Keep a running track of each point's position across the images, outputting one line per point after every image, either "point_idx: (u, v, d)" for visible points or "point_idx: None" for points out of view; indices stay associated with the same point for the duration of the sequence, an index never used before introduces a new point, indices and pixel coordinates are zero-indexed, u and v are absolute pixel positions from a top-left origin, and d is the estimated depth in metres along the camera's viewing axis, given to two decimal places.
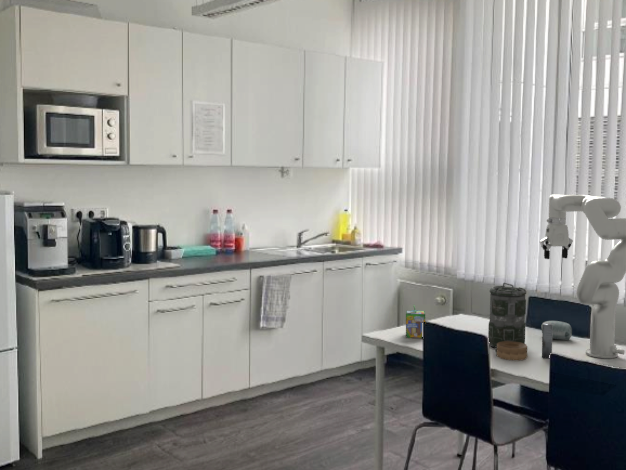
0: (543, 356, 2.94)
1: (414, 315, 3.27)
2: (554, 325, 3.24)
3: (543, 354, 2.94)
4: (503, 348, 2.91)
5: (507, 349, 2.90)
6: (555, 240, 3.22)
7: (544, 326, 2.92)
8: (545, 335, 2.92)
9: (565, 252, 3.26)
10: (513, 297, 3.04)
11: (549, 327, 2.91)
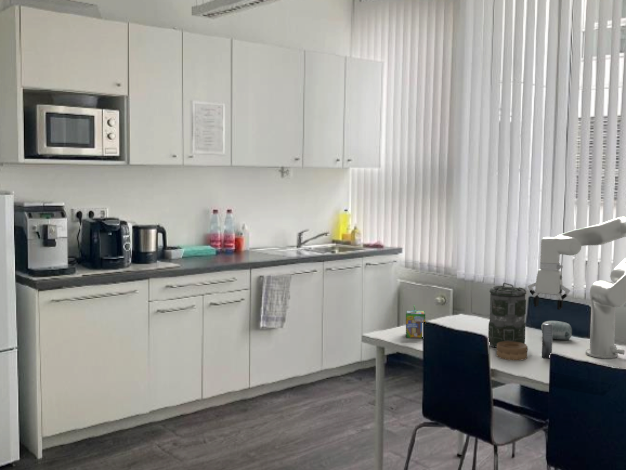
0: (543, 356, 2.94)
1: (414, 315, 3.27)
2: (554, 325, 3.24)
3: (543, 354, 2.94)
4: (503, 348, 2.91)
5: (507, 349, 2.90)
6: None
7: (544, 326, 2.92)
8: (545, 335, 2.92)
9: (538, 299, 2.96)
10: (513, 297, 3.04)
11: (549, 327, 2.91)
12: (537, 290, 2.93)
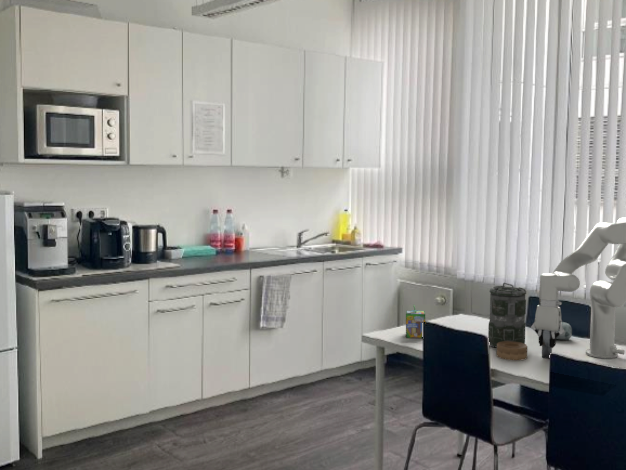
0: (543, 356, 2.94)
1: (414, 315, 3.27)
2: None
3: (543, 354, 2.94)
4: (503, 348, 2.91)
5: (507, 349, 2.90)
6: None
7: None
8: (545, 335, 2.92)
9: None
10: (513, 297, 3.04)
11: None
12: (536, 326, 2.94)
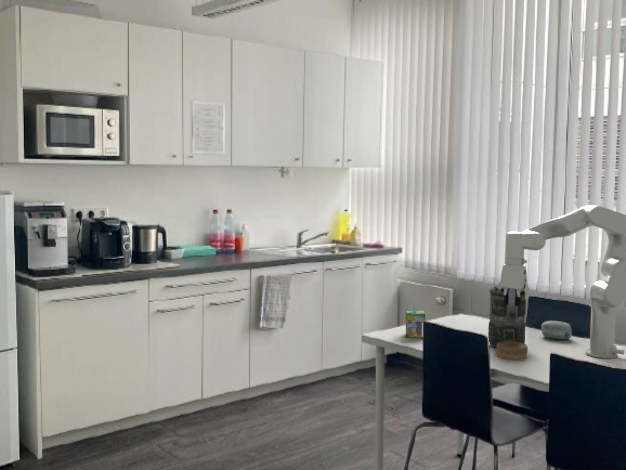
0: (508, 315, 2.93)
1: (414, 315, 3.27)
2: (554, 325, 3.24)
3: (508, 313, 2.93)
4: (503, 348, 2.91)
5: (507, 349, 2.90)
6: None
7: None
8: (510, 293, 2.92)
9: None
10: None
11: None
12: (502, 285, 2.94)
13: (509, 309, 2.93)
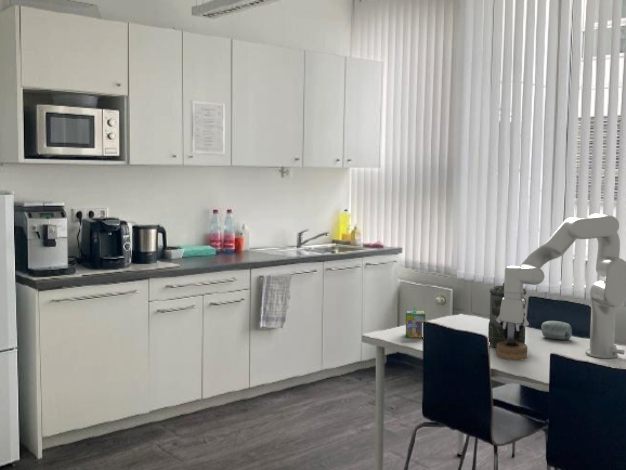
0: None
1: (414, 315, 3.27)
2: (554, 325, 3.24)
3: None
4: (503, 348, 2.91)
5: (507, 349, 2.90)
6: None
7: None
8: (509, 327, 2.93)
9: None
10: None
11: None
12: (501, 319, 2.95)
13: (508, 343, 2.94)
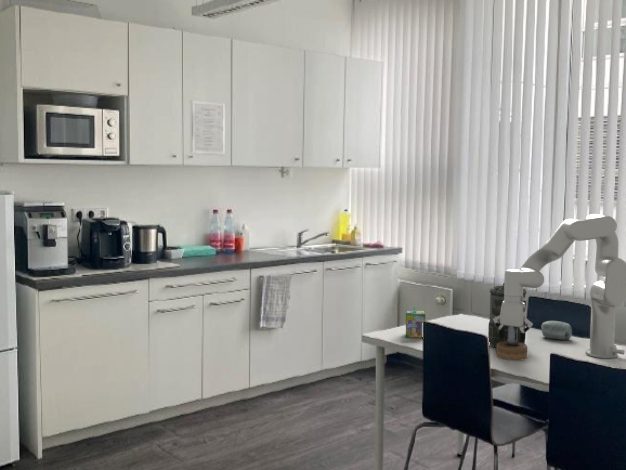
0: None
1: (414, 315, 3.27)
2: (554, 325, 3.24)
3: None
4: (503, 348, 2.91)
5: (507, 349, 2.90)
6: None
7: None
8: (509, 334, 2.93)
9: (503, 332, 2.98)
10: None
11: (514, 327, 2.92)
12: (501, 322, 2.95)
13: None
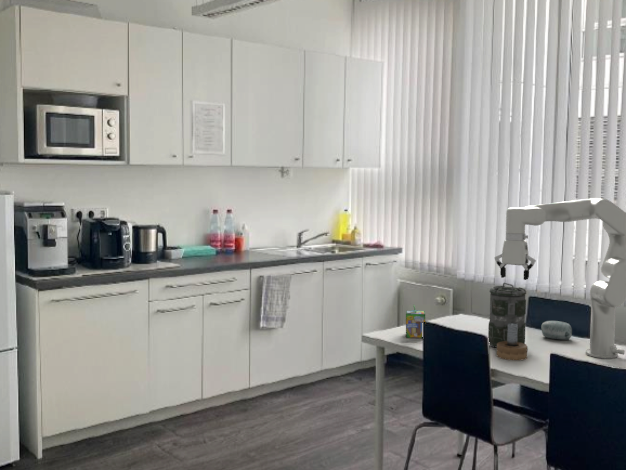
0: None
1: (414, 315, 3.27)
2: (554, 325, 3.24)
3: None
4: (503, 348, 2.91)
5: (507, 349, 2.90)
6: None
7: (509, 325, 2.93)
8: (509, 334, 2.93)
9: (505, 270, 2.96)
10: (513, 297, 3.04)
11: (514, 327, 2.92)
12: (503, 261, 2.93)
13: None
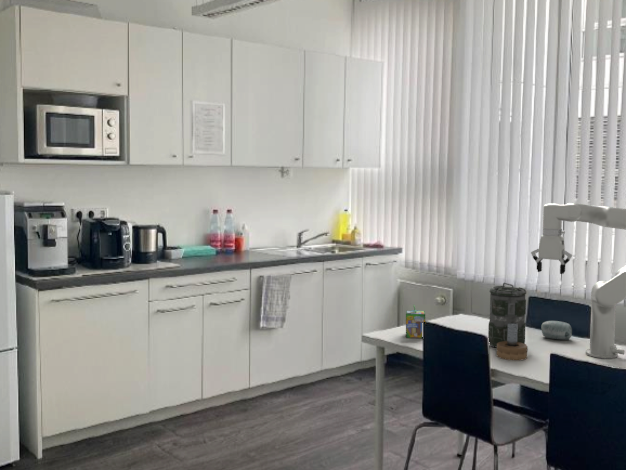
0: None
1: (414, 315, 3.27)
2: (554, 325, 3.24)
3: None
4: (503, 348, 2.91)
5: (507, 349, 2.90)
6: None
7: (509, 325, 2.94)
8: (509, 334, 2.93)
9: (541, 265, 3.04)
10: (513, 297, 3.04)
11: (514, 327, 2.93)
12: (540, 256, 3.01)
13: None
